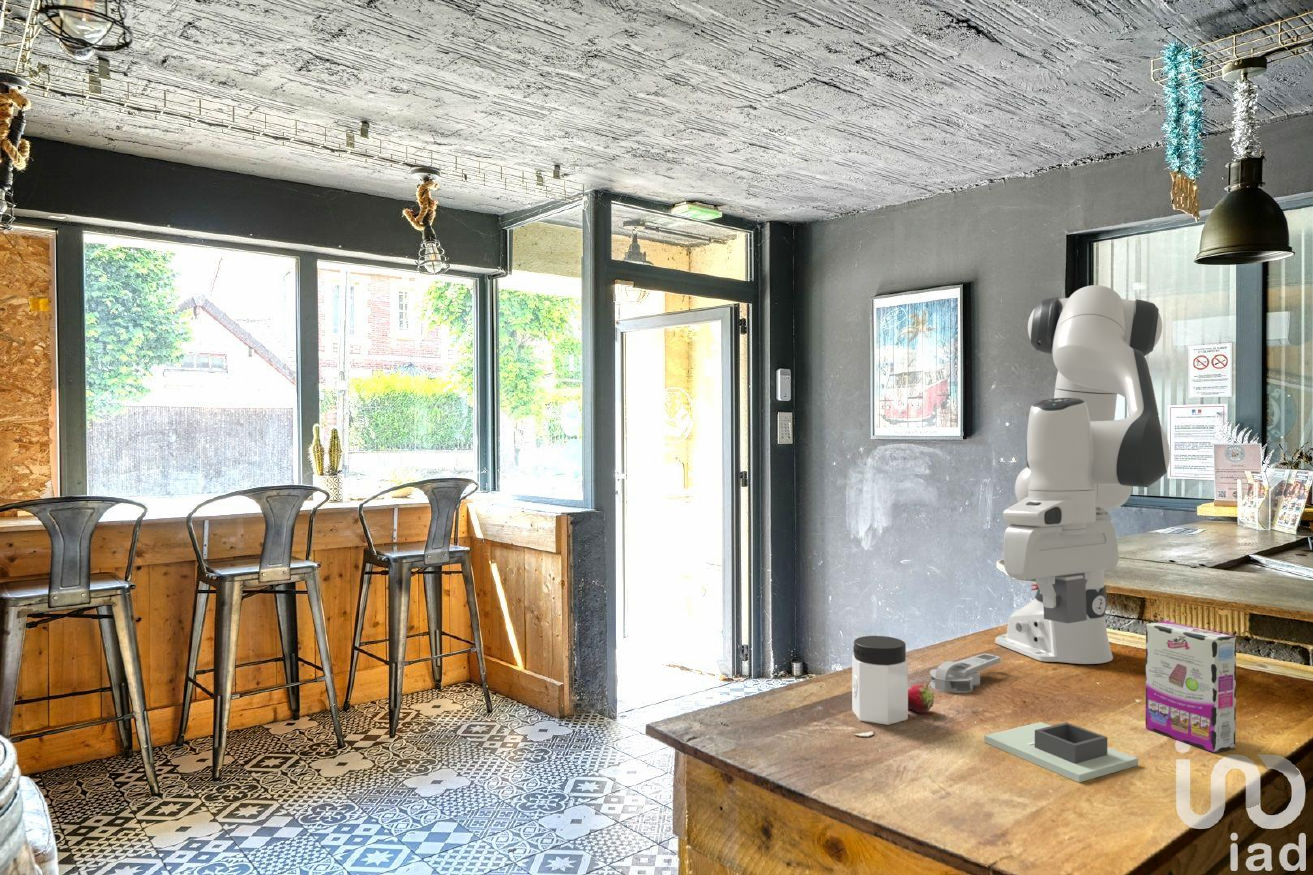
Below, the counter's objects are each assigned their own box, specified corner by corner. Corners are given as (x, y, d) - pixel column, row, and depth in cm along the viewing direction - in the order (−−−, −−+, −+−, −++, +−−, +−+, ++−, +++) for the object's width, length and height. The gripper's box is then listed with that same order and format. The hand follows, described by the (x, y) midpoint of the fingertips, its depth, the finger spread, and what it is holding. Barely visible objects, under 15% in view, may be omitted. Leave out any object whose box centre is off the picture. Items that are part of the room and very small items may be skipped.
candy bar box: (1237, 748, 126) (1239, 635, 126) (1214, 754, 124) (1215, 639, 124) (1165, 723, 137) (1166, 619, 136) (1143, 728, 135) (1144, 622, 134)
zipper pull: (1012, 676, 162) (1012, 653, 162) (959, 696, 151) (959, 671, 150) (973, 666, 168) (973, 644, 168) (919, 685, 157) (919, 661, 157)
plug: (1044, 618, 128) (1042, 574, 128) (1062, 615, 130) (1061, 572, 130) (1067, 623, 124) (1066, 578, 124) (1086, 620, 126) (1085, 575, 126)
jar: (847, 706, 146) (847, 635, 145) (895, 705, 146) (895, 634, 146) (861, 726, 137) (861, 649, 136) (913, 724, 137) (913, 648, 137)
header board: (984, 741, 130) (984, 718, 130) (1040, 728, 135) (1040, 705, 135) (1078, 782, 115) (1079, 756, 115) (1138, 765, 121) (1138, 740, 121)
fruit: (910, 704, 147) (910, 674, 147) (940, 713, 142) (940, 683, 142) (894, 709, 145) (894, 679, 144) (924, 719, 140) (924, 688, 140)
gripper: (1090, 504, 135) (1093, 595, 134) (994, 512, 125) (997, 609, 125) (1128, 506, 129) (1131, 601, 129) (1031, 514, 120) (1034, 616, 119)
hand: (1064, 605), depth 127 cm, fingers closed on plug, 4 cm apart
